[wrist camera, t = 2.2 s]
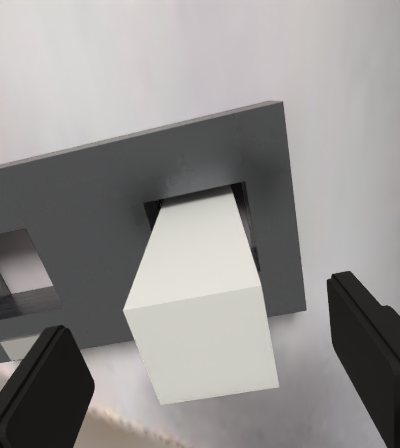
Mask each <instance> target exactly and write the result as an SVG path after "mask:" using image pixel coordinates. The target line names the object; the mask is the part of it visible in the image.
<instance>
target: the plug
mask: <svg viewBox="0 0 400 448" xmlns="http://www.w3.org/2000/svg"><path fill="white" fill-rule="evenodd" d="M123 312H124V315H125V317H126V320H127V322H128V325H129V327H130V330H131V332H132V335H133V337H134V340H135V342H136V345H137V347H138V350H139V353H140V355H141V358H142V360H143V363H144V365H145V368H146V370H147V373H148V375H149V378H150V380H151V383H152V385H153V388H154V390H155V393H156V395H157V398H158V401H159V403H160V405H165V404H171V403H178V402H185V401H191V400H198V399H204V398H211V397H218V396H224V395H231V394H238V393H244V392H251V391H258V390H264V389H271V388H277V387H279V383H278V377H277V371H276V366H275V360H274V354H273V349H272V343H271V337H270V332H269V326H268V320H267V314H266V309H265V303H264V297H263V292H262V286H261V282H260V279H259V276H258V273H257V269H256V266H255V263H254V260H253V257H252V253H251V250H250V247H249V244H248V240H247V237H246V234H245V231H244V228H243V224H242V221H241V218H240V215H239V211H238V208H237V205H236V202H235V198H234V195H233V192H232V189H231V186H230V184H229V185H225V186H220V187H215V188H211V189H206V190H201V191H197V192H192V193H187V194H183V195H178V196H173V197H169V198H165V199H164V201H163V204H162V207H161V209H160V212H159V215H158V218H157V220H156V223H155V226H154V228H153V231H152V234H151V236H150V239H149V242H148V244H147V247H146V250H145V253H144V255H143V258H142V261H141V263H140V266H139V269H138V271H137V274H136V277H135V279H134V282H133V285H132V287H131V290H130V293H129V296H128V298H127V301H126V304H125V306H124V309H123Z"/></svg>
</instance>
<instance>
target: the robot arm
mask: <svg viewBox="0 0 400 448" xmlns="http://www.w3.org/2000/svg"><path fill="white" fill-rule="evenodd" d="M327 292H328V303H329V315H330V326H331V337H332V344H333V347H334V350H335V352H336V354H337V356H338V358H339V359H340V361H341V363H342V365H343V367H344V369H345V370H346V372H347V374H348V376H349V378H350V380H351V382H352V383H353V385H354V387H355V389H356V391H357V393H358V394H359V396H360V398H361V400H362V402H363V404H364V405H365V407H366V409H367V411H368V413H369V415H370V416H371V418H372V420H373V422H374V424H375V426H376V428H377V429H378V431H379V433H380V435H381V437H382V439H383V440H384V442H385V444H386V446H387V448H400V316H399V315H398V314H397V312H396V311H395V310H394V309H393V308H391V307H390V306H387V305H386V306H381V305H380V304H379V302H378V301H377V300H376V299H375V298H374V297H373V296H372V295H371V293H370V292H369V291H368V290H367V289H366V288H365V287H364V286H363V285H362V283H361V282H360V281H359V280H358V279H357V278H356V277H355V276H354V275H353V273H352V272H350V271H346V272H341V273H335V274H332V276H331V279H328V280H327ZM94 389H95V384H94V380H93V378H92V376H91V374H90V371H89V369H88V367H87V365H86V363H85V361H84V359H83V356H82V354H81V352H80V350H79V348H78V346H77V344H76V342H75V339H74V337H73V335H72V333H71V331H70V329H68V328H65V326H63V325H58V326H53V327H47V328H45V329H44V330H43V332H42V333H41V334H40V336H39V337H38V339H37V340H36V342H35V343H34V344H33V346H32V347H31V349H30V350H29V352H28V353H27V354H26V356H25V357H24V359H23V360H22V362H21V363H20V364H19V366H18V367H17V369H16V370H15V371H14V373H13V374H12V376H11V377H10V379H9V380H8V381H7V383H6V385H5V386H4V387H3V389H2V390H1V392H0V448H73V446H74V444H75V441H76V438H77V436H78V433H79V430H80V428H81V425H82V422H83V420H84V417H85V414H86V412H87V409H88V406H89V404H90V401H91V398H92V396H93V393H94Z"/></svg>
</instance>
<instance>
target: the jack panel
mask: <svg viewBox="0 0 400 448" xmlns="http://www.w3.org/2000/svg"><path fill="white" fill-rule="evenodd" d="M239 182H241V183H242V189H243V195H244V200H245V206H246V212H247V217H248V223H249V228H250V234H251V240H252V245H253V247H252V248H250V250H251V253H252V257H253V260H254V263H255V266H256V269H257V273H258V276H259V279H260V282H261V286H262V292H263V297H264V303H265V309H266V314H267V317H271V316H277V315H283V314H289V313H294V312H300V311H306V310H307V309H306V301H305V292H304V283H303V274H302V265H301V256H300V247H299V239H298V230H297V221H296V212H295V203H294V194H293V185H292V177H291V168H290V159H289V150H288V141H287V132H286V124H285V115H284V106H283V102H282V101H267V102H262V103H258V104H254V105H250V106H246V107H241V108H237V109H233V110H229V111H225V112H220V113H216V114H212V115H208V116H204V117H199V118H195V119H191V120H187V121H182V122H178V123H174V124H170V125H166V126H161V127H157V128H153V129H149V130H145V131H140V132H136V133H132V134H128V135H124V136H119V137H115V138H111V139H107V140H103V141H98V142H94V143H90V144H86V145H82V146H77V147H73V148H69V149H65V150H61V151H56V152H52V153H48V154H44V155H39V156H35V157H31V158H27V159H23V160H18V161H14V162H10V163H6V164H2V165H0V234H1V233H6V232H11V231H15V230H20V229H24V228H26V230H27V232H28V234H29V236H30V238H31V240H32V242H33V244H34V246H35V248H36V250H37V252H38V255H39V257H40V259H41V261H42V263H43V265H44V267H45V269H46V271H47V273H48V275H49V277H50V279H51V281H52V284H53V286H51V287H46V288H41V289H36V290H31V291H26V292H20V293H15V294H11V293H10V291H9V289H8V288H7V286H6V284H5V282H4V280H3V279H2V277H1V275H0V363H3V362H9V361H15V360H21V359H24V357H25V356H26V354H27V353H28V352H29V350H30V349H31V347H32V346H33V344H34V343H35V342H36V340H37V339H38V337H39V336H40V334H41V333H42V332H43V330H44V329H45V328H47V327H53V326H58V325H63V326H65V328H68V329H70V331H71V333H72V335H73V337H74V339H75V342H76V344H77V346H78V348H79V349H85V348H91V347H97V346H102V345H108V344H114V343H120V342H126V341H131V340H134V337H133V335H132V332H131V330H130V327H129V325H128V322H127V320H126V317H125V315H124V312H123V309H124V306H125V304H126V301H127V298H128V296H129V293H130V290H131V287H132V285H133V282H134V279H135V277H136V274H137V271H138V269H139V266H140V263H141V261H142V258H143V255H144V253H145V250H146V247H147V244H148V242H149V239H150V236H151V234H152V231H153V228H154V226H155V223H156V220H157V218H158V215H159V211H158V207H157V204H156V201H155V200H159V199H164V198H169V197H173V196H178V195H183V194H187V193H192V192H197V191H201V190H206V189H211V188H215V187H220V186H225V185H229V184H234V183H239Z"/></svg>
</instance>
